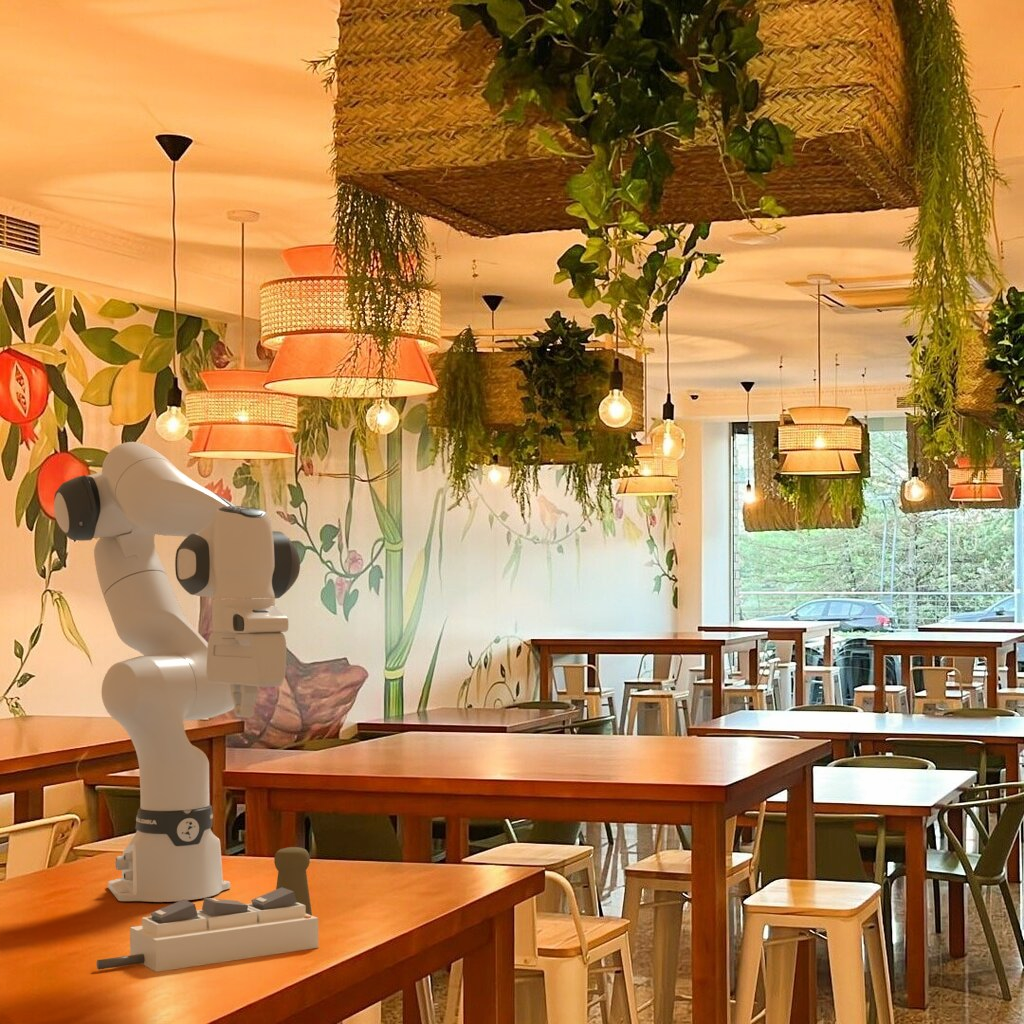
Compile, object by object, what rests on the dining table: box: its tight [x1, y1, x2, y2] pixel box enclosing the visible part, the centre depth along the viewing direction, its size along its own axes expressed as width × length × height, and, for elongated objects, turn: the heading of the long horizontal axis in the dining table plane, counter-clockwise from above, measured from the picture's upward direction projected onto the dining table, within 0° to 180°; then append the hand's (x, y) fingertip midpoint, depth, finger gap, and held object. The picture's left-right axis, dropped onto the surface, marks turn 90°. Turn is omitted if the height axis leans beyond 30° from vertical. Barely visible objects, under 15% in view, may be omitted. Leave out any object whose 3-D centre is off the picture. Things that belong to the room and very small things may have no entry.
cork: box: [273, 846, 313, 916], centre depth 228 cm, size 6×6×11 cm
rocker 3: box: [251, 887, 297, 910], centre depth 213 cm, size 4×5×2 cm
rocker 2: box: [201, 897, 248, 916], centre depth 209 cm, size 4×5×2 cm
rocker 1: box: [150, 900, 198, 924], centre depth 206 cm, size 4×5×2 cm
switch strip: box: [96, 902, 319, 973], centre depth 208 cm, size 10×29×6 cm, turn 123°
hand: (244, 717), depth 219 cm, fingers closed
